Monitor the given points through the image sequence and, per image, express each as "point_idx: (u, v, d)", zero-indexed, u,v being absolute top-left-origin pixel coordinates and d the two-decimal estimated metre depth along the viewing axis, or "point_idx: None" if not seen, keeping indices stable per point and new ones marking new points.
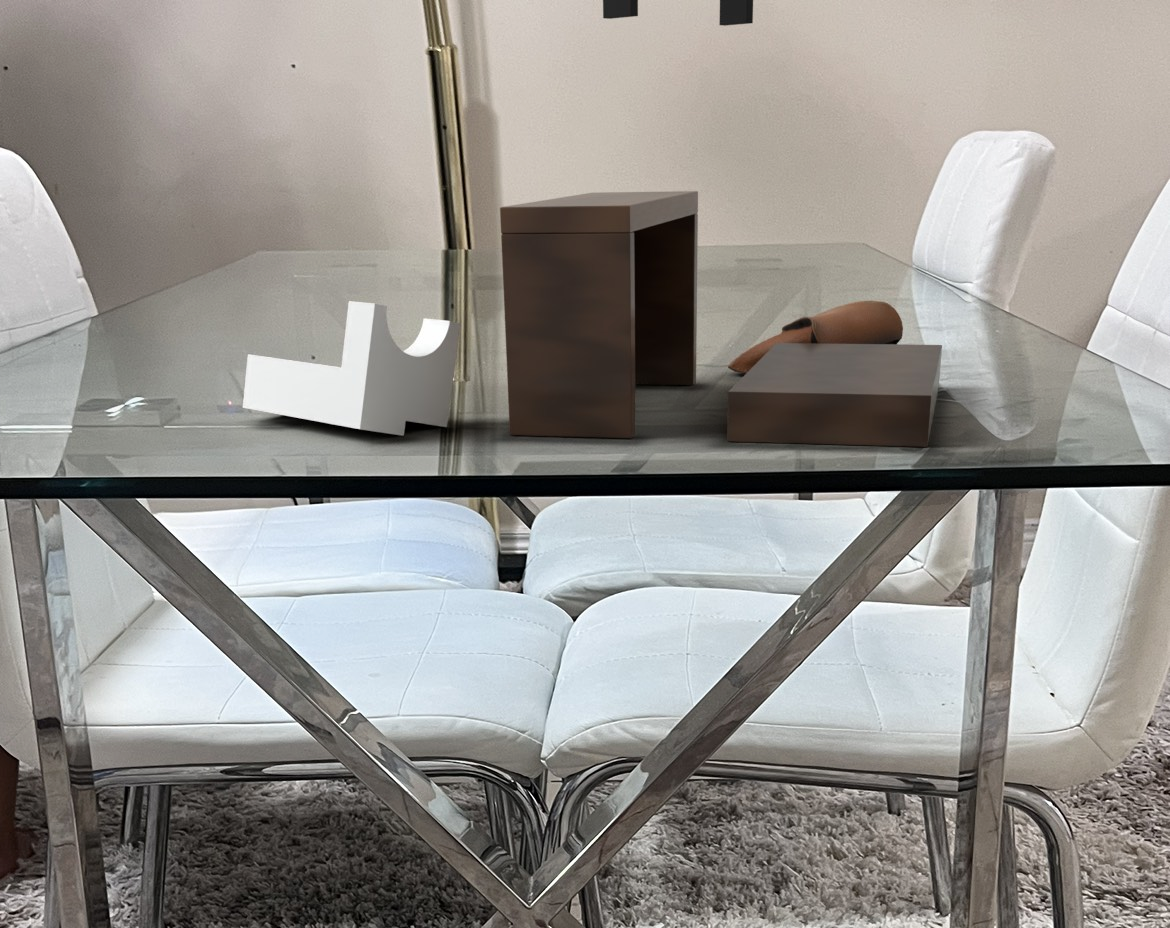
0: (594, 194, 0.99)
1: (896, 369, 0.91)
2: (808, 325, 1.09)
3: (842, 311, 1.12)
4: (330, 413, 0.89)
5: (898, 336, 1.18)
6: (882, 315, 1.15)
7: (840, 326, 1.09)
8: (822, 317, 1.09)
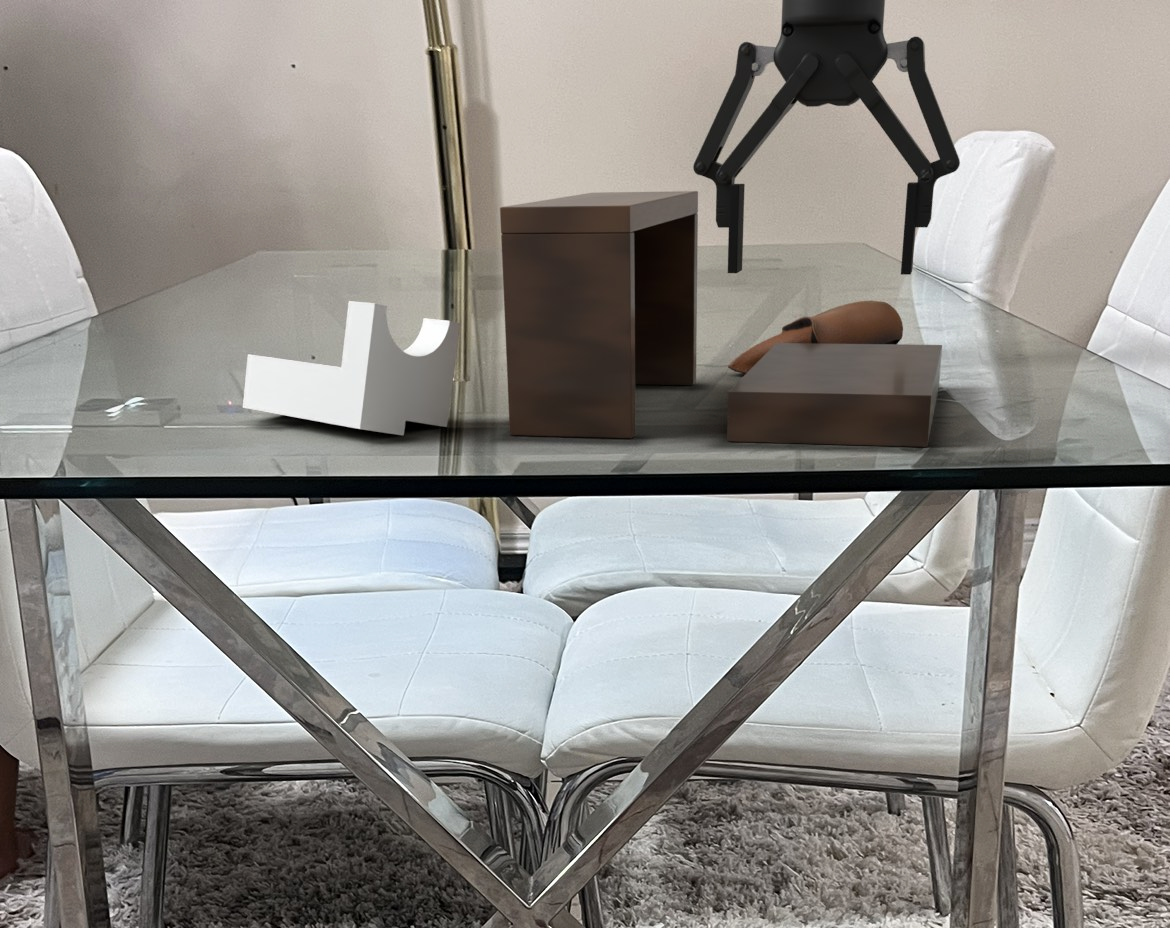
0: (594, 194, 0.99)
1: (896, 369, 0.91)
2: (808, 325, 1.09)
3: (842, 311, 1.12)
4: (330, 413, 0.89)
5: (898, 336, 1.18)
6: (882, 315, 1.15)
7: (840, 326, 1.09)
8: (822, 317, 1.09)
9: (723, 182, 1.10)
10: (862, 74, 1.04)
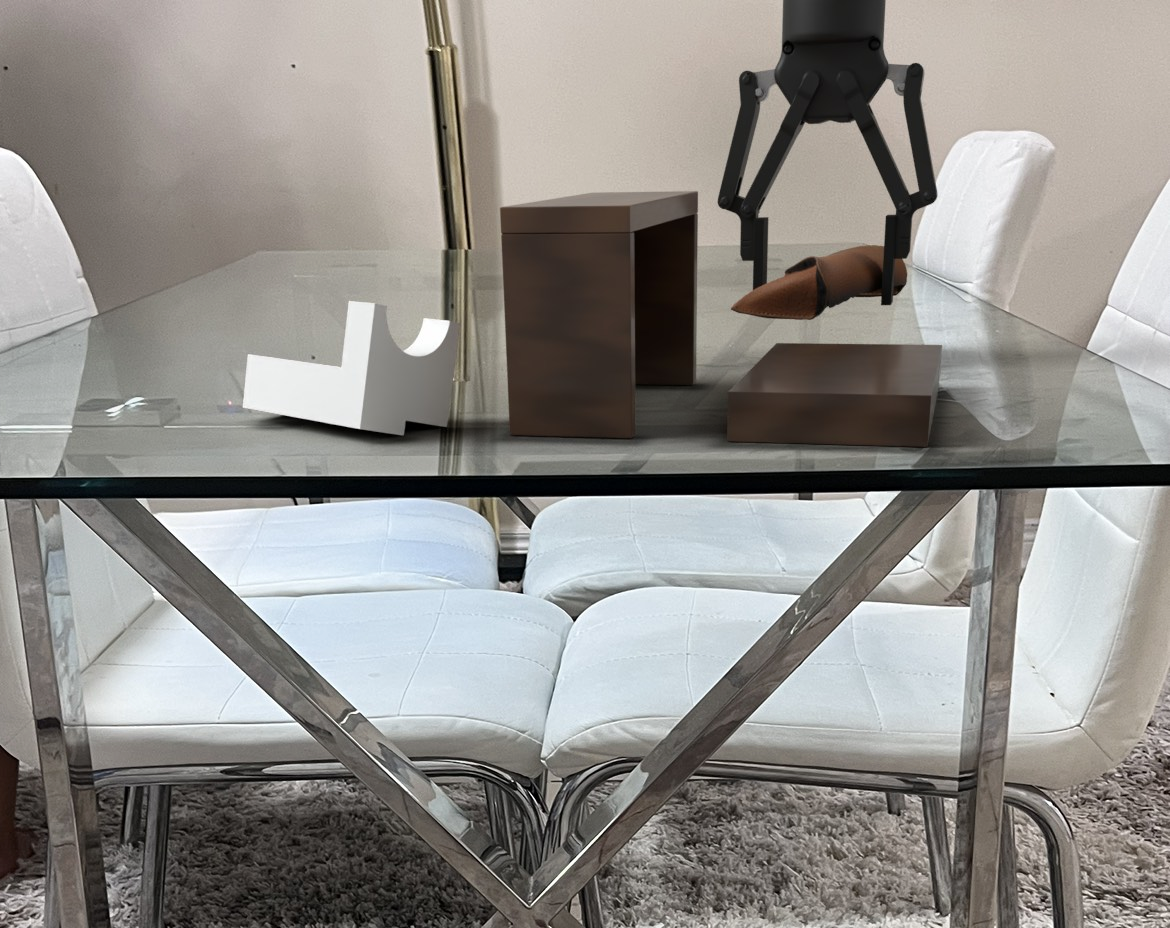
0: (594, 194, 0.99)
1: (896, 369, 0.91)
2: (812, 266, 1.07)
3: (846, 253, 1.10)
4: (330, 413, 0.89)
5: (902, 281, 1.16)
6: None
7: (845, 265, 1.06)
8: (826, 257, 1.07)
9: (749, 216, 1.10)
10: (860, 94, 1.04)
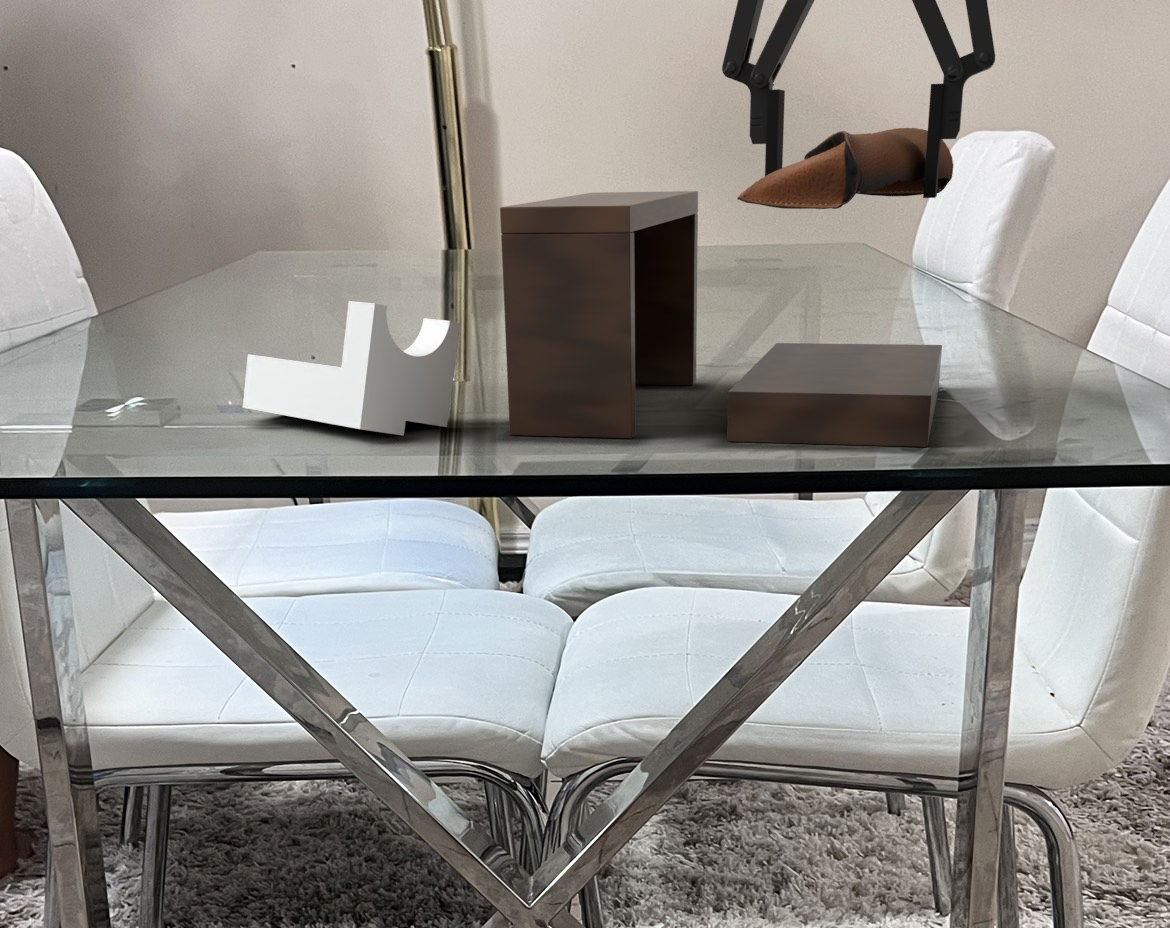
0: (594, 194, 0.99)
1: (896, 369, 0.91)
2: (839, 145, 0.86)
3: None
4: (330, 413, 0.89)
5: (948, 174, 0.95)
6: None
7: (880, 144, 0.86)
8: (857, 134, 0.86)
9: (761, 86, 0.89)
10: None
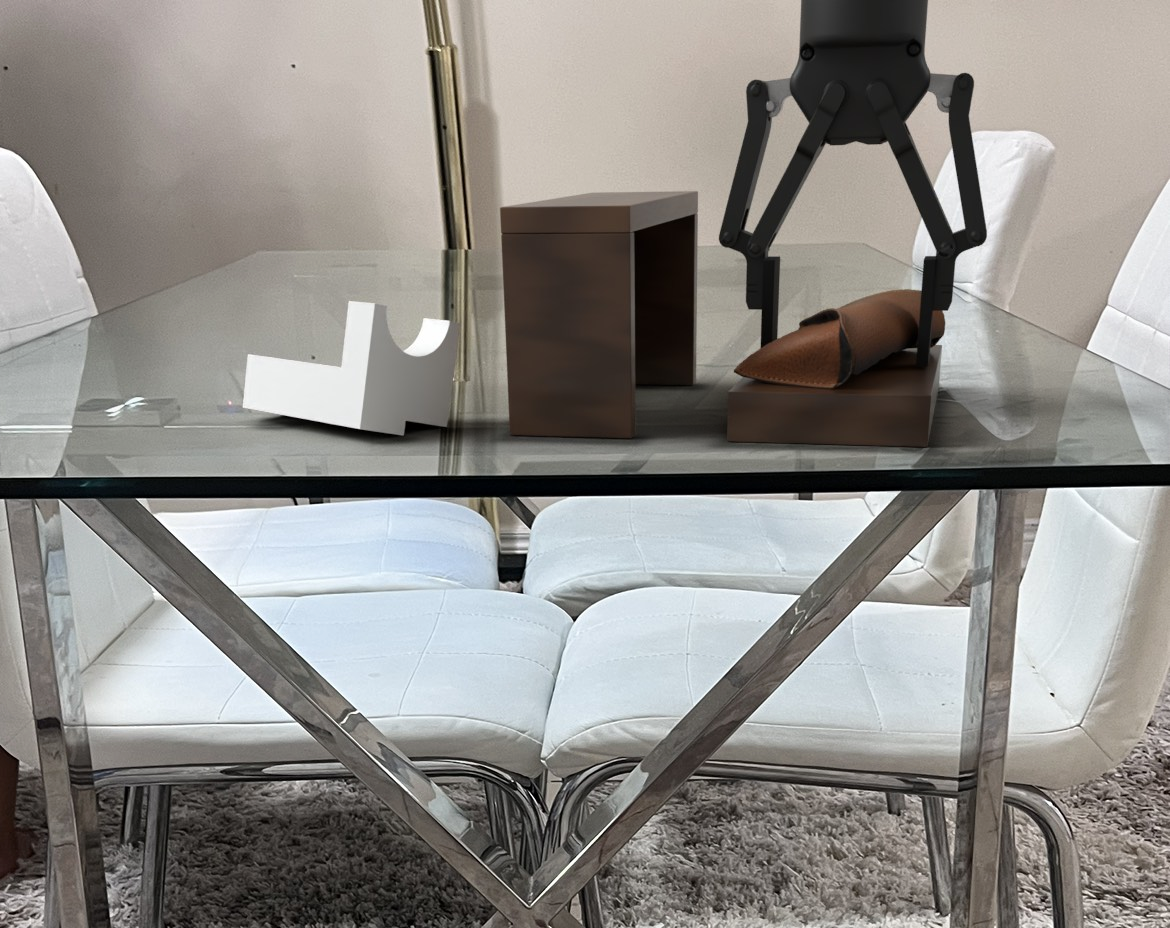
0: (594, 194, 0.99)
1: (896, 369, 0.91)
2: (834, 319, 0.88)
3: (874, 302, 0.91)
4: (330, 413, 0.89)
5: (940, 333, 0.96)
6: None
7: (874, 320, 0.87)
8: (851, 309, 0.88)
9: (757, 256, 0.90)
10: (895, 111, 0.84)
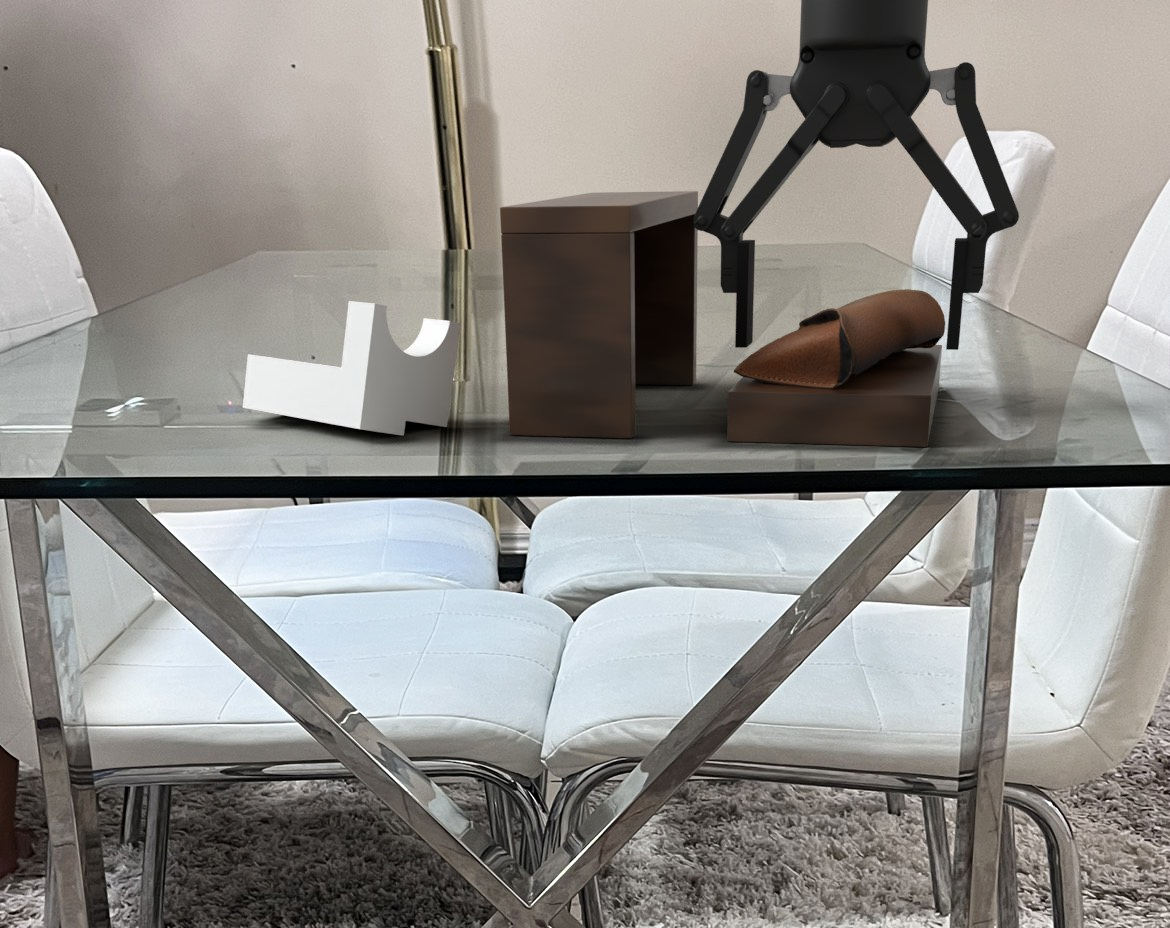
0: (594, 194, 0.99)
1: (896, 369, 0.91)
2: (834, 319, 0.88)
3: (874, 302, 0.91)
4: (330, 413, 0.89)
5: (940, 333, 0.96)
6: (921, 307, 0.94)
7: (874, 320, 0.87)
8: (851, 309, 0.88)
9: (729, 239, 0.90)
10: (899, 109, 0.84)
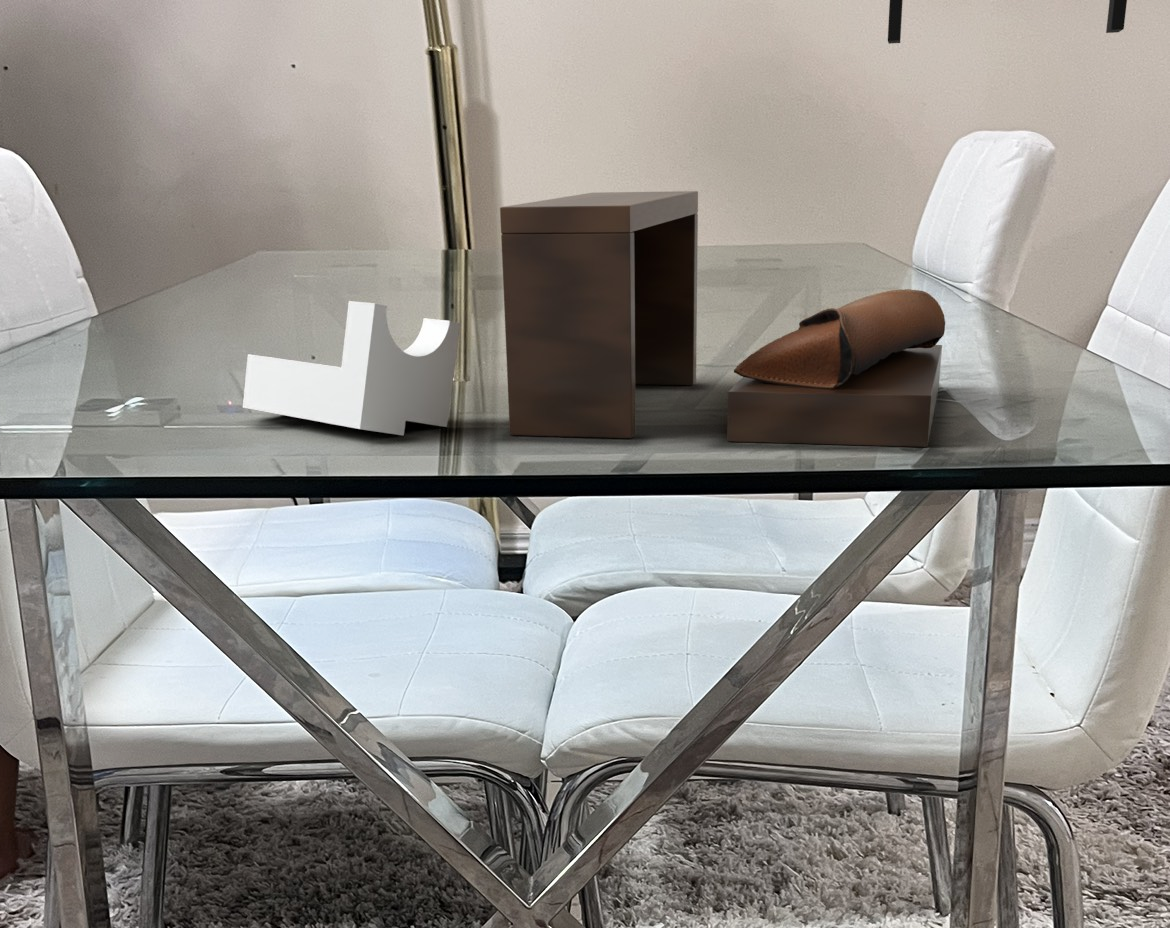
0: (594, 194, 0.99)
1: (896, 369, 0.91)
2: (834, 319, 0.88)
3: (874, 302, 0.91)
4: (330, 413, 0.89)
5: (940, 333, 0.96)
6: (921, 307, 0.94)
7: (874, 320, 0.87)
8: (851, 309, 0.88)
9: None
10: None
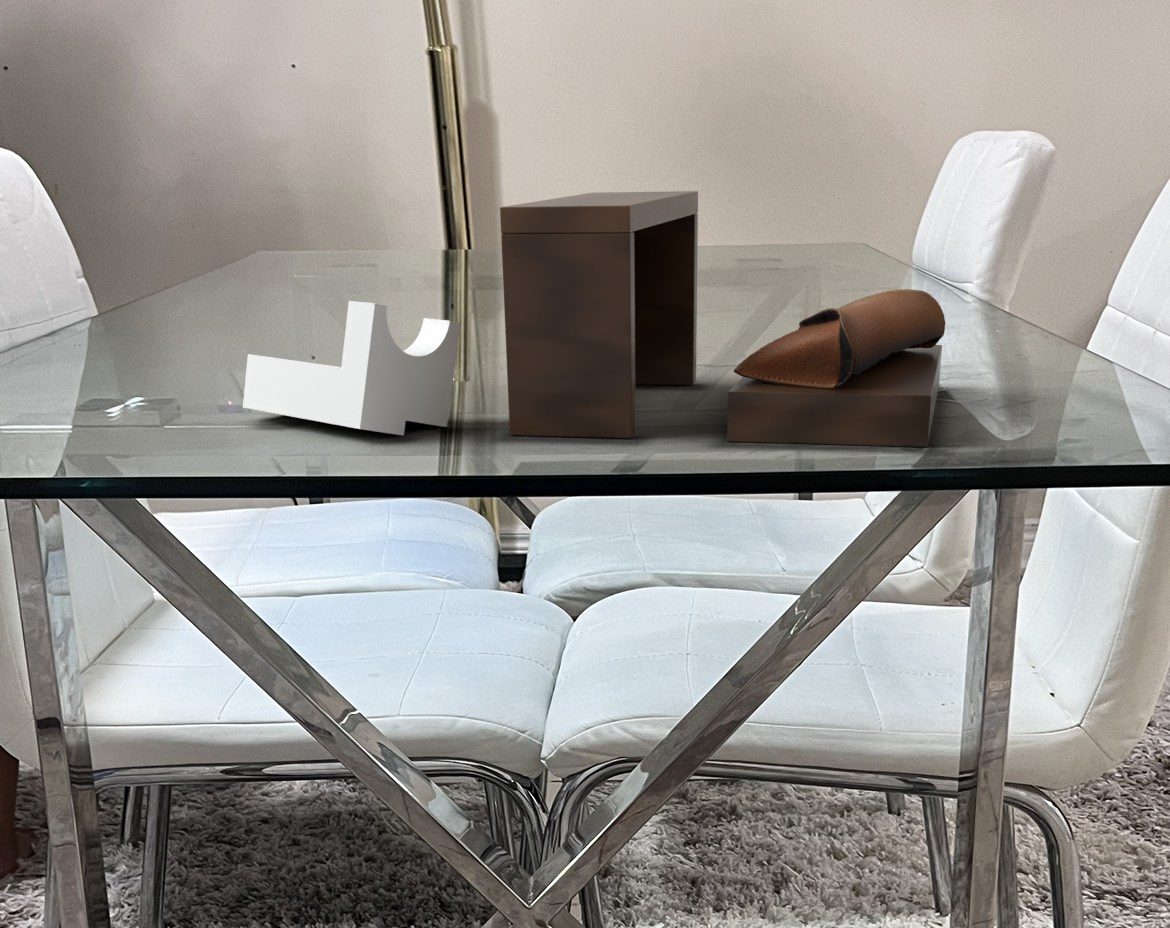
0: (594, 194, 0.99)
1: (896, 369, 0.91)
2: (834, 319, 0.88)
3: (874, 302, 0.91)
4: (330, 413, 0.89)
5: (940, 333, 0.96)
6: (921, 307, 0.94)
7: (874, 320, 0.87)
8: (851, 309, 0.88)
9: None
10: None
